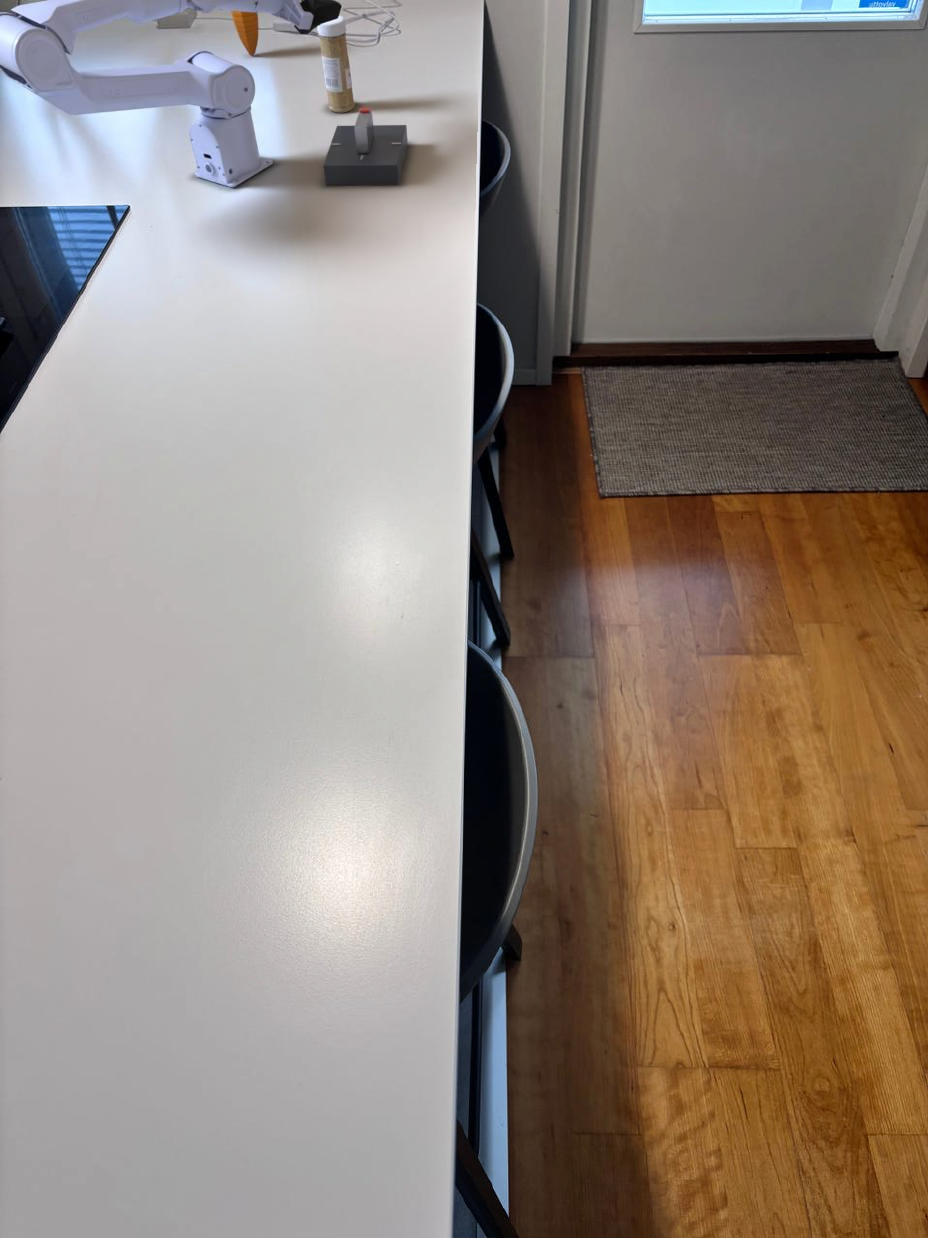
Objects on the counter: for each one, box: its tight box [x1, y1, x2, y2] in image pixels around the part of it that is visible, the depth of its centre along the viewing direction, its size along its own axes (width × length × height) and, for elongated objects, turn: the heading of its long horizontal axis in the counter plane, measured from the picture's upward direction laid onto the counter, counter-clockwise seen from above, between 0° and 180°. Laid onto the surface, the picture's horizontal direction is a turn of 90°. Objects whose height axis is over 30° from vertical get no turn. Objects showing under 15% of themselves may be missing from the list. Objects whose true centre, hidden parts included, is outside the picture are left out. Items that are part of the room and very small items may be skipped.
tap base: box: [322, 124, 409, 187], centre depth 145 cm, size 14×11×3 cm
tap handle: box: [354, 107, 374, 154], centre depth 143 cm, size 6×2×4 cm, turn 177°
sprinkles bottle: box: [316, 15, 356, 113], centre depth 156 cm, size 5×5×13 cm
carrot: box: [230, 11, 259, 57], centre depth 173 cm, size 5×5×15 cm
